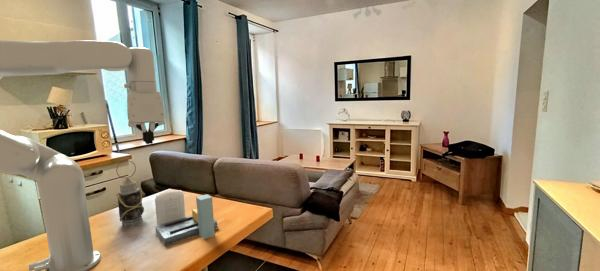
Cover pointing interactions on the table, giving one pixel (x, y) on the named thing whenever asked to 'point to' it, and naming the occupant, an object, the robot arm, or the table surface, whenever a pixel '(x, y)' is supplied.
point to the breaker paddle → (195, 214)
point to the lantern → (130, 202)
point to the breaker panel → (178, 230)
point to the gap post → (205, 216)
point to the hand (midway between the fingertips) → (149, 143)
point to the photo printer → (169, 206)
